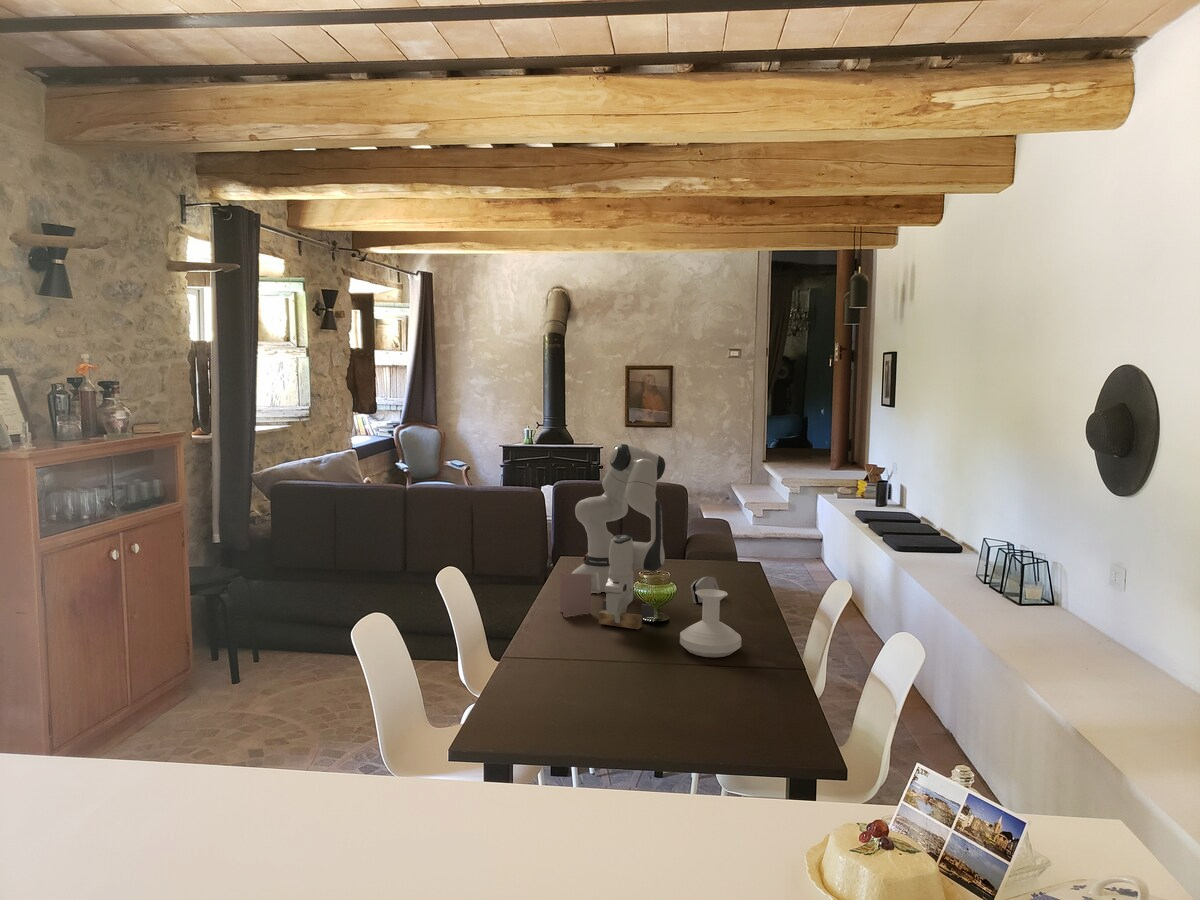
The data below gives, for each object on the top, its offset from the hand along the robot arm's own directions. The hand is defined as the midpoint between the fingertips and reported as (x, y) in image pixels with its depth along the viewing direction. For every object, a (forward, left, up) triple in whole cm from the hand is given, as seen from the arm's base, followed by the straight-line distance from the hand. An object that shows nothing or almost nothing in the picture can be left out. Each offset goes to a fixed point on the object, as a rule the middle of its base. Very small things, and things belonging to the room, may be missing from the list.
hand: (620, 620), depth 290 cm
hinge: (+21, +47, -3) cm, 52 cm away
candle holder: (+35, -14, -3) cm, 38 cm away
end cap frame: (0, +12, -3) cm, 12 cm away
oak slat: (0, 0, -2) cm, 2 cm away
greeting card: (-20, +8, -3) cm, 22 cm away
